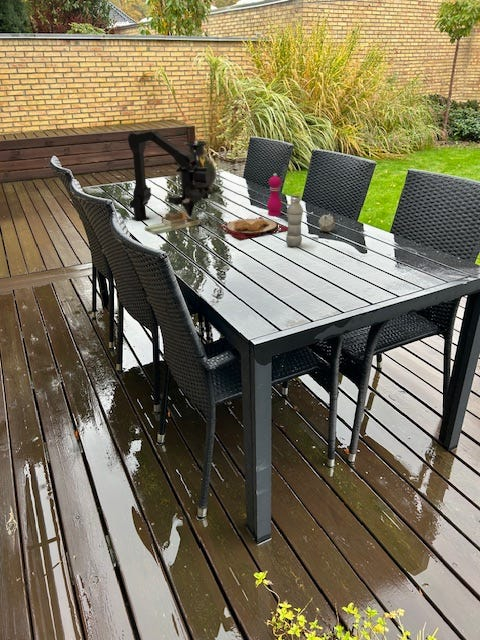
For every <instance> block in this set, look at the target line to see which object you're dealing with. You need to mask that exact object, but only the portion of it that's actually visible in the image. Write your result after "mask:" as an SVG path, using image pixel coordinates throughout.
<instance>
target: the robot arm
mask: <svg viewBox="0 0 480 640" xmlns="http://www.w3.org/2000/svg"><path fill="white" fill-rule="evenodd" d="M149 141H151V142H152V143H154V144H155V145H157V146H158V147H160V149H162V150H164V152H166V153H167V154H169V155H170V156H171V157H172V158H173V159H174V161H175V162H176V163H177V165H179V167H178V168H177V169H176V170H175V172H176V173H179V172H181V182H180V183H179V186H180V187H181V192H180V195H176V194H175V195H171V196H169V197H168V204H171V205H182V206H183V208H184V210H185V211H186V212H185V213H186V215H188V217H191V216H192V215H193V210H194V207H195V205H196V204H198V202H199V201H202V200H207V199H209V194H208V193H207V192H205V190H204V189H200V190H199V189H197V188H196V185H195V184H194V181H195V182H196V183H209V182H210V172H209V170H208V167H205V168H200V166H199V165H198V164H197V162H196V161H195V159H194V155H193V154H192V153H190V152H188V151H189V150H186V149H182V148H181V147H178V146H177V145H176V144H174V143H172V142H171V141H170V140H169V139H168V138H166V137H165V136H163V135H162V134H160V133H159V132H158V130H155V129H153V130H150V131H147V132H142V131H137V132H132V133H129V134H128V136H127V143H128V147H129V149H130V151H131V153H132V157H133V158H132V159H133V168H134V169H133V171H134V179H135V181H134V182H135V185H134V189H133V193H132V194H133V195H132V200H130V202H129V203H128V205H129V207H130V209H133V216H131V219H133V220H135V221H137V222H139V221H144V220H148V219H150V217H149V216H147V211H146V205H148V203H149V201H150V200H151V197H152V193H151V190H152V189H151V187H148V185H147V182H146V170H145V169H146V168H145V167H146V166H145V156H144V153H145V149H146V146H147V142H149ZM191 165H192V166H191Z"/></svg>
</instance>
